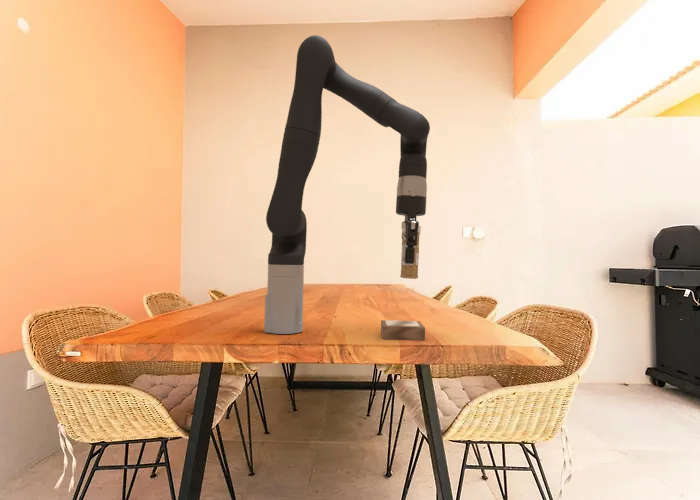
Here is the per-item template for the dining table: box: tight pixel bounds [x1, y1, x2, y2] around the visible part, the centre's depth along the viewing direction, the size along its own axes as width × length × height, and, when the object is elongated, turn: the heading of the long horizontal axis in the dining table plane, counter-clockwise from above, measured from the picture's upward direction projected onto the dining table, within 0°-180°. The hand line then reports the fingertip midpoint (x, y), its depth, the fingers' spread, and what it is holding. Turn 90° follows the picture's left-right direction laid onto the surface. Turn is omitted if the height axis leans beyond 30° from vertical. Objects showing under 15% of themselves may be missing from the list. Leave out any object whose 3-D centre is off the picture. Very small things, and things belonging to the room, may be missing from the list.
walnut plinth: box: [380, 319, 426, 341], centre depth 103 cm, size 10×10×3 cm
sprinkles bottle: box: [399, 225, 422, 280], centre depth 104 cm, size 5×5×14 cm
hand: (408, 263), depth 104 cm, fingers closed on sprinkles bottle, 4 cm apart
